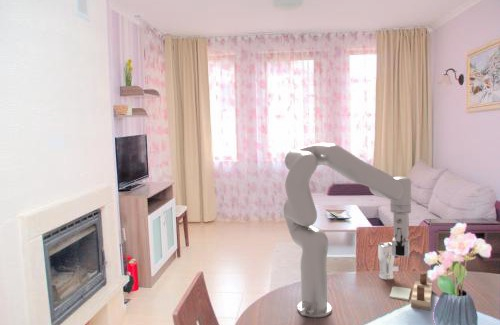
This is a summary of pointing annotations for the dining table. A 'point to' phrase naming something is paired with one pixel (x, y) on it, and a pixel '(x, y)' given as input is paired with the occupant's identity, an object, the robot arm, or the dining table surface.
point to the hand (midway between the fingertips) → (400, 252)
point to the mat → (400, 293)
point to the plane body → (422, 293)
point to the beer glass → (385, 260)
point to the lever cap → (406, 247)
